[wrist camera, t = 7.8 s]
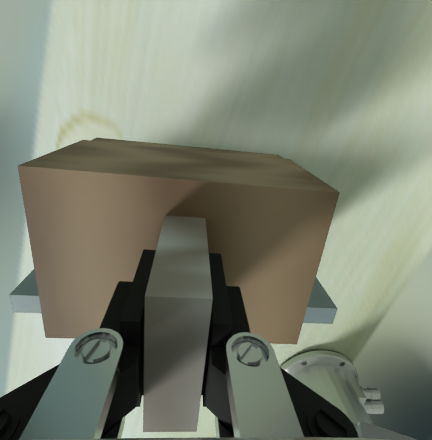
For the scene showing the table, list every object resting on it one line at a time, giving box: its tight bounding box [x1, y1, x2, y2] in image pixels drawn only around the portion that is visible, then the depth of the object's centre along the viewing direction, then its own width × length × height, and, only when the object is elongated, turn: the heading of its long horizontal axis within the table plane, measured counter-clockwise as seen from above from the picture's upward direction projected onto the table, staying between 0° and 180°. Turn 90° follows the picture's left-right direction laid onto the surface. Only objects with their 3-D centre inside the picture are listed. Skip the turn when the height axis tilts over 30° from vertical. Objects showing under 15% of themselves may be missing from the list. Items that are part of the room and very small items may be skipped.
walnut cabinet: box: [18, 138, 339, 432], centre depth 14 cm, size 12×8×14 cm, turn 84°
